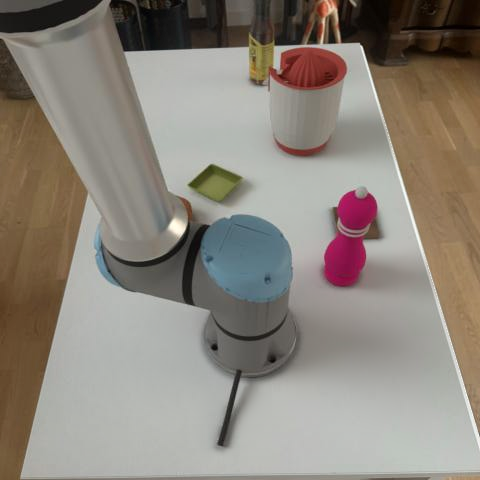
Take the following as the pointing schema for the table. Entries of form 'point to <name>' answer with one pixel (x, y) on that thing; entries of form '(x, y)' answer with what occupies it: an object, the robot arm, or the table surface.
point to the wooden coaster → (370, 234)
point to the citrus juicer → (305, 98)
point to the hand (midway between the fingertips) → (248, 31)
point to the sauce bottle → (261, 42)
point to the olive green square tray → (215, 182)
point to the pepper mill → (350, 237)
